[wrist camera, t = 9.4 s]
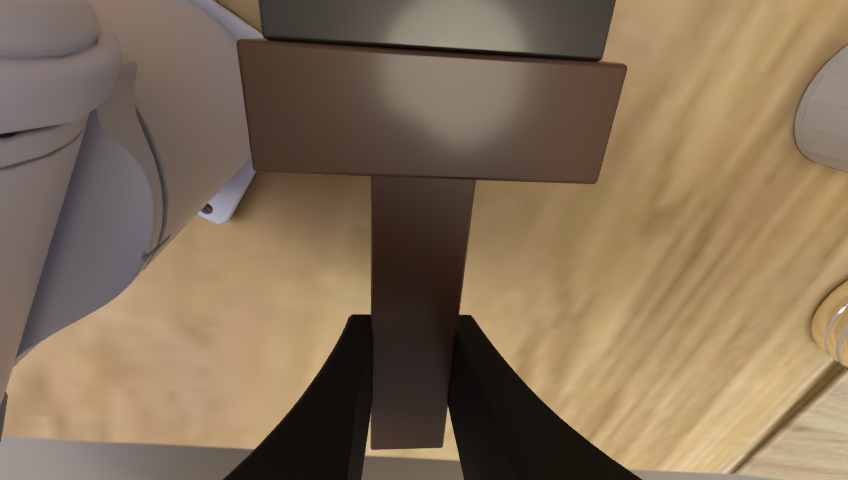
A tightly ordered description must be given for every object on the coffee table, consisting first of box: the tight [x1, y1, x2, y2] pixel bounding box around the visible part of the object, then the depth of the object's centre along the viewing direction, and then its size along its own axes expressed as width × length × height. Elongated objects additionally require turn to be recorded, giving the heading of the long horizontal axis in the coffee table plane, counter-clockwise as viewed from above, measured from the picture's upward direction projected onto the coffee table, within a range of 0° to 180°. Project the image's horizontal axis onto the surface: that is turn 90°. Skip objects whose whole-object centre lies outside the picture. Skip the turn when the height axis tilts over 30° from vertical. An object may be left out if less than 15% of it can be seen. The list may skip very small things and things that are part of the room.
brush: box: [236, 0, 627, 450], centre depth 10 cm, size 6×12×4 cm, turn 176°
